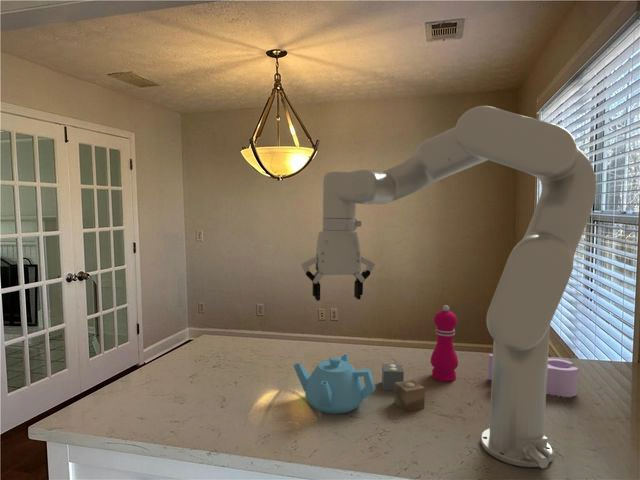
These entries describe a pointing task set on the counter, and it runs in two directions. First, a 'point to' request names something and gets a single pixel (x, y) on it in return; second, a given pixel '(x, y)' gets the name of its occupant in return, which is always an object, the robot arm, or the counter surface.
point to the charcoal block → (391, 375)
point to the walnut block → (409, 395)
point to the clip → (556, 377)
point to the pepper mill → (444, 346)
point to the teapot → (335, 385)
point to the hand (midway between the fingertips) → (337, 298)
